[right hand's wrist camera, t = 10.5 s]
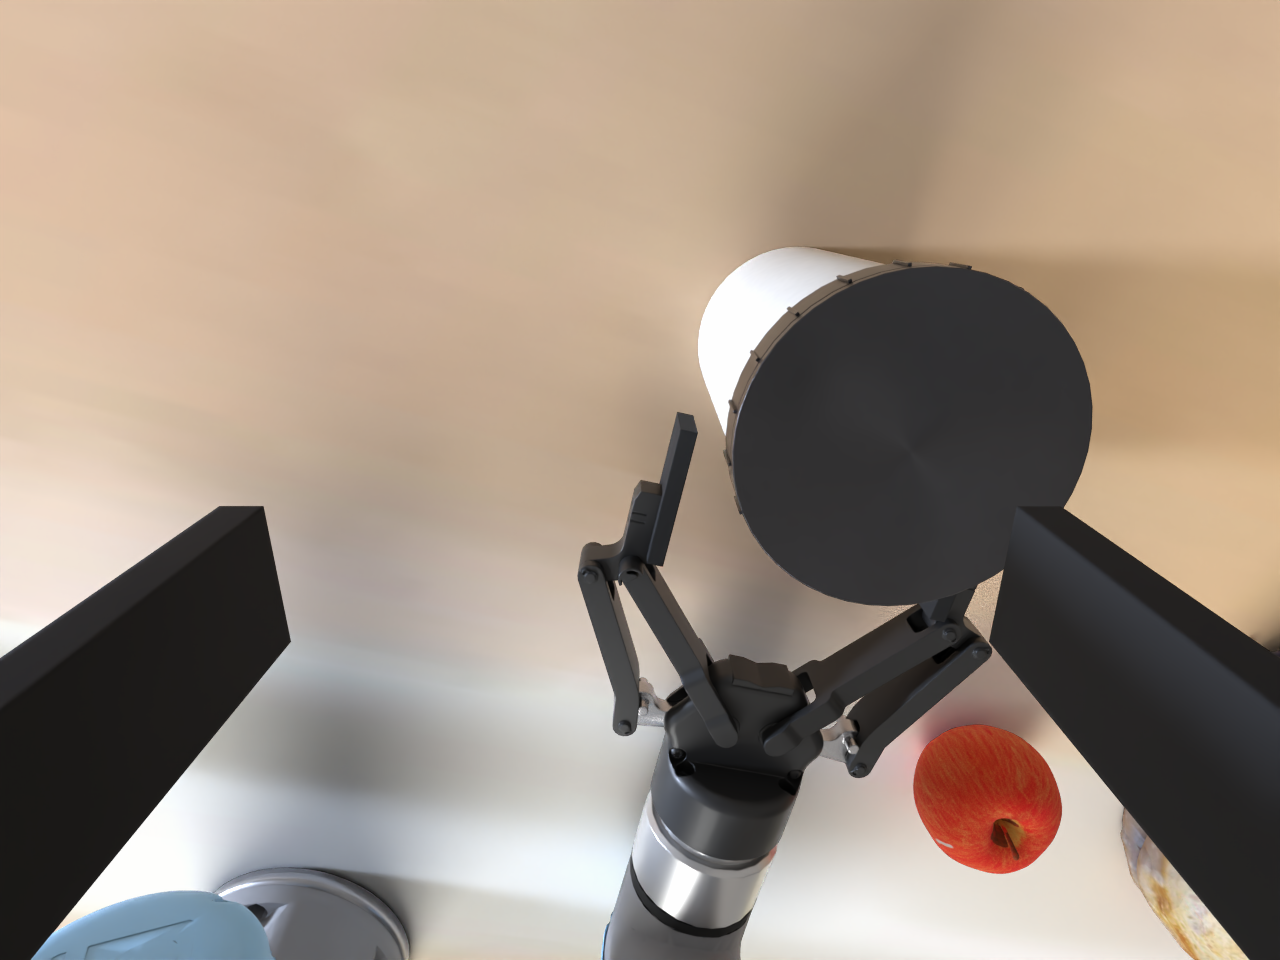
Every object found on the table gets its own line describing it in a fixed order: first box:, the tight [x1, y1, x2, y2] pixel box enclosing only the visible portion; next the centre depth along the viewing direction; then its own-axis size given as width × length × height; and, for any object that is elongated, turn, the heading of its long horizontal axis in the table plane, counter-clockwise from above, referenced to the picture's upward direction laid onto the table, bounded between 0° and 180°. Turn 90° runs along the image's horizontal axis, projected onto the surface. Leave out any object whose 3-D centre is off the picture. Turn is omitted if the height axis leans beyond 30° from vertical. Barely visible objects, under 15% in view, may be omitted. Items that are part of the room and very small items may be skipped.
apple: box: [913, 725, 1062, 874], centre depth 42 cm, size 8×8×8 cm
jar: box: [698, 247, 884, 436], centre depth 29 cm, size 10×10×17 cm
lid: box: [723, 260, 1092, 606], centre depth 21 cm, size 10×10×2 cm
